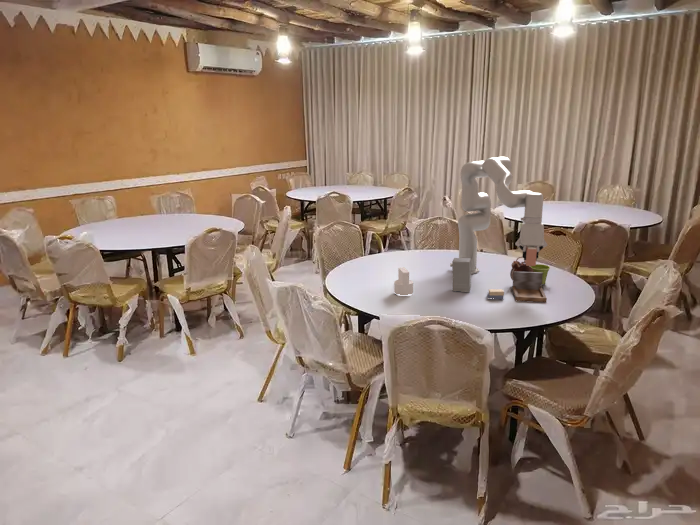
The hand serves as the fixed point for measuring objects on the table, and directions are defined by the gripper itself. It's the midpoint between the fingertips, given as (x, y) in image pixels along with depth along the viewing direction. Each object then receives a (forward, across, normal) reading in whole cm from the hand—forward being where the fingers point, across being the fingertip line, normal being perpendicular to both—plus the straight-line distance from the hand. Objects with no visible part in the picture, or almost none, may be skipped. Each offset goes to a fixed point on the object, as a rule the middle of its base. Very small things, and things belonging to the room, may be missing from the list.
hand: (530, 259), depth 232 cm
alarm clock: (+18, -2, +14) cm, 23 cm away
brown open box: (+17, 0, 0) cm, 17 cm away
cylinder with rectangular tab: (+18, -58, -6) cm, 60 cm away
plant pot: (+18, +7, +20) cm, 28 cm away
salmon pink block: (+2, 0, 0) cm, 2 cm away
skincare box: (+18, -31, +3) cm, 35 cm away
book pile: (+17, -15, -6) cm, 24 cm away
